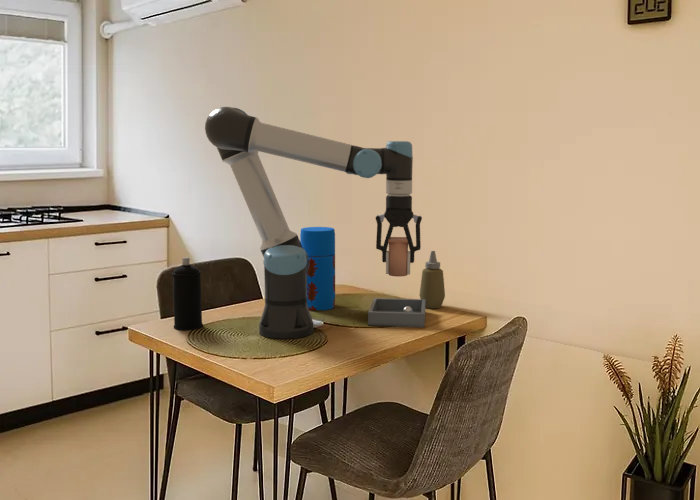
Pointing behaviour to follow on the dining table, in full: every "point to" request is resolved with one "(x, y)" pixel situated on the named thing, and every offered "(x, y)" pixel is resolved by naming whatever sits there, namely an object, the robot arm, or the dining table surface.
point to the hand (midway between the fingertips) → (398, 273)
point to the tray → (396, 312)
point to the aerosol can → (187, 297)
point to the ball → (408, 309)
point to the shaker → (398, 256)
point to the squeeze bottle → (432, 283)
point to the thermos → (320, 266)
